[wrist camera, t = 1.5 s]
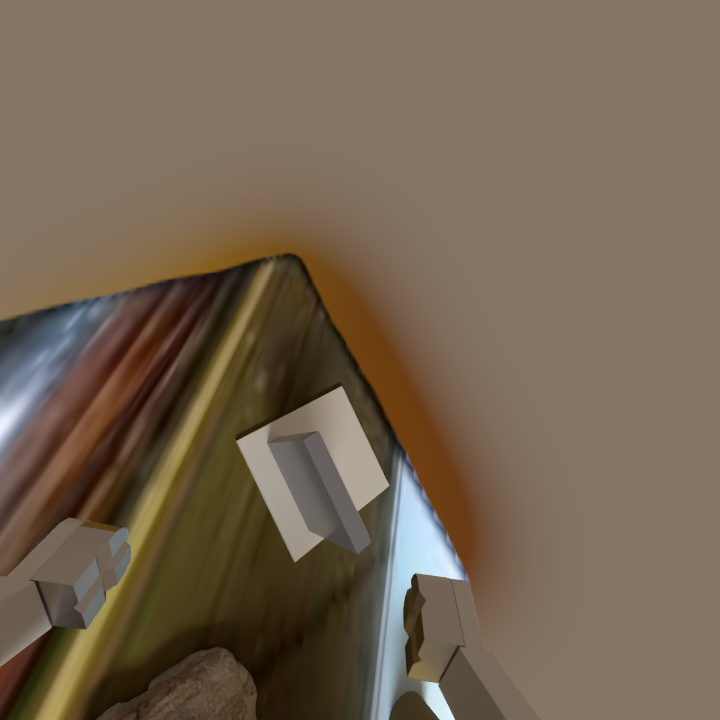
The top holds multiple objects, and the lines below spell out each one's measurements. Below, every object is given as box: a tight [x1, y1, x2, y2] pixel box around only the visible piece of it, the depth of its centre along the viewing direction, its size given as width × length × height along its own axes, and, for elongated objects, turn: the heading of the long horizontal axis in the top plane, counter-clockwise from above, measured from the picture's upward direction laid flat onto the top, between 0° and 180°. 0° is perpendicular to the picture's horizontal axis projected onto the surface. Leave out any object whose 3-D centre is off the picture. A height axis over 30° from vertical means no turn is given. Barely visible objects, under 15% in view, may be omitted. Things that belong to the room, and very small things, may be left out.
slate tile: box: [267, 431, 371, 554], centre depth 38 cm, size 2×12×12 cm, turn 29°
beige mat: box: [236, 386, 389, 562], centre depth 45 cm, size 16×16×1 cm
